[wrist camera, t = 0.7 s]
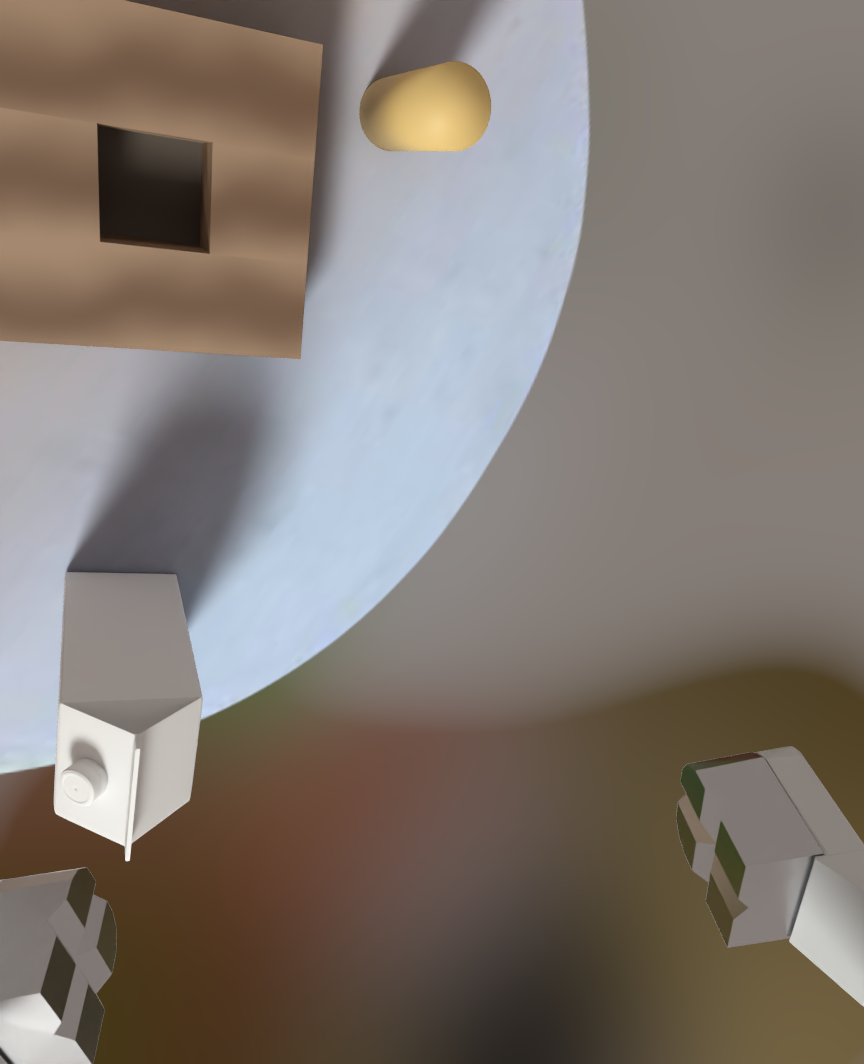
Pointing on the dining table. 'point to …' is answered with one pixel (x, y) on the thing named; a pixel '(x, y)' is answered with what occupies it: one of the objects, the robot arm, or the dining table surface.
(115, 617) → the milk carton
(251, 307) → the bore block
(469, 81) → the pin
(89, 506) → the dining table surface
